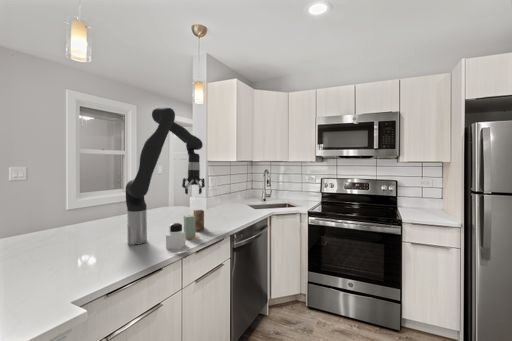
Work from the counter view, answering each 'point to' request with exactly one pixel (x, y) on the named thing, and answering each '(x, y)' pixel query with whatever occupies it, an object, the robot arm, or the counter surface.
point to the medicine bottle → (175, 237)
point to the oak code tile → (193, 238)
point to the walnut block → (199, 220)
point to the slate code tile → (202, 231)
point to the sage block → (189, 226)
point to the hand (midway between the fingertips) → (193, 194)
